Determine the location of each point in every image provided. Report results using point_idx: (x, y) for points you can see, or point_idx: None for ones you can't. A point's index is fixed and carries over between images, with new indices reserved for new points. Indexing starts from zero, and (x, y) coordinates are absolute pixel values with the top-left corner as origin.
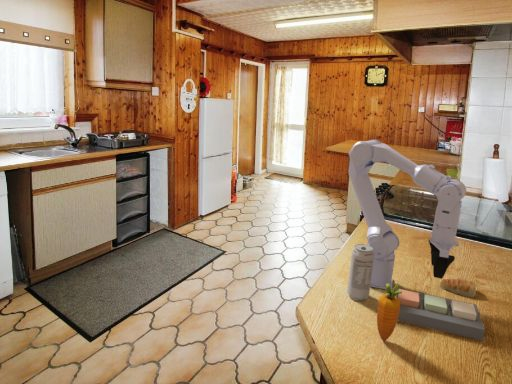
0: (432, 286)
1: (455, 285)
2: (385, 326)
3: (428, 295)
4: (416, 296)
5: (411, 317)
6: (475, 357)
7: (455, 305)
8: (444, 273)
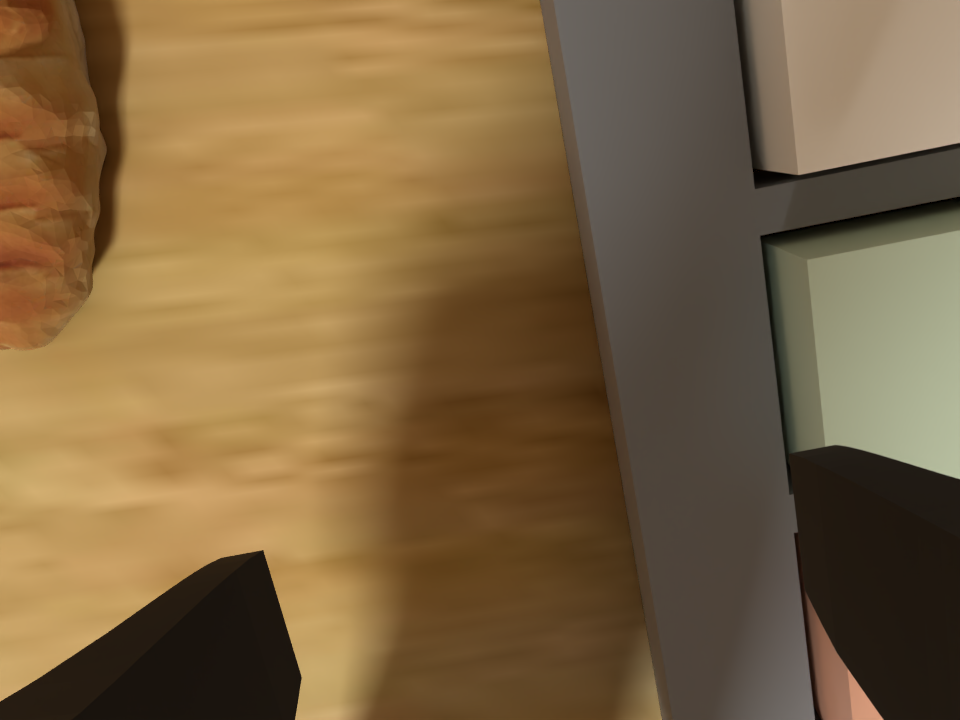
0: (118, 411)
1: (44, 171)
2: None
3: None
4: None
5: None
6: None
7: (953, 108)
8: (928, 474)
